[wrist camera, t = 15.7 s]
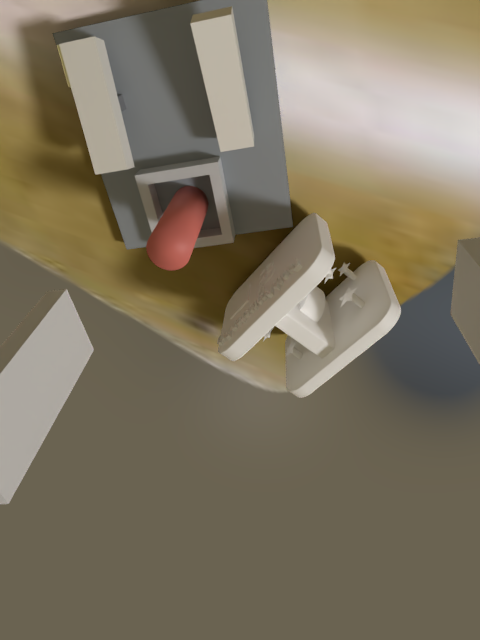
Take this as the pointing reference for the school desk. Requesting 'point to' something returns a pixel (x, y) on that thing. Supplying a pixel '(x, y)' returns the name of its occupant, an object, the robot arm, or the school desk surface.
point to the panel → (192, 124)
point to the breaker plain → (223, 77)
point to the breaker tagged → (97, 103)
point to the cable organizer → (310, 308)
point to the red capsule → (178, 229)
